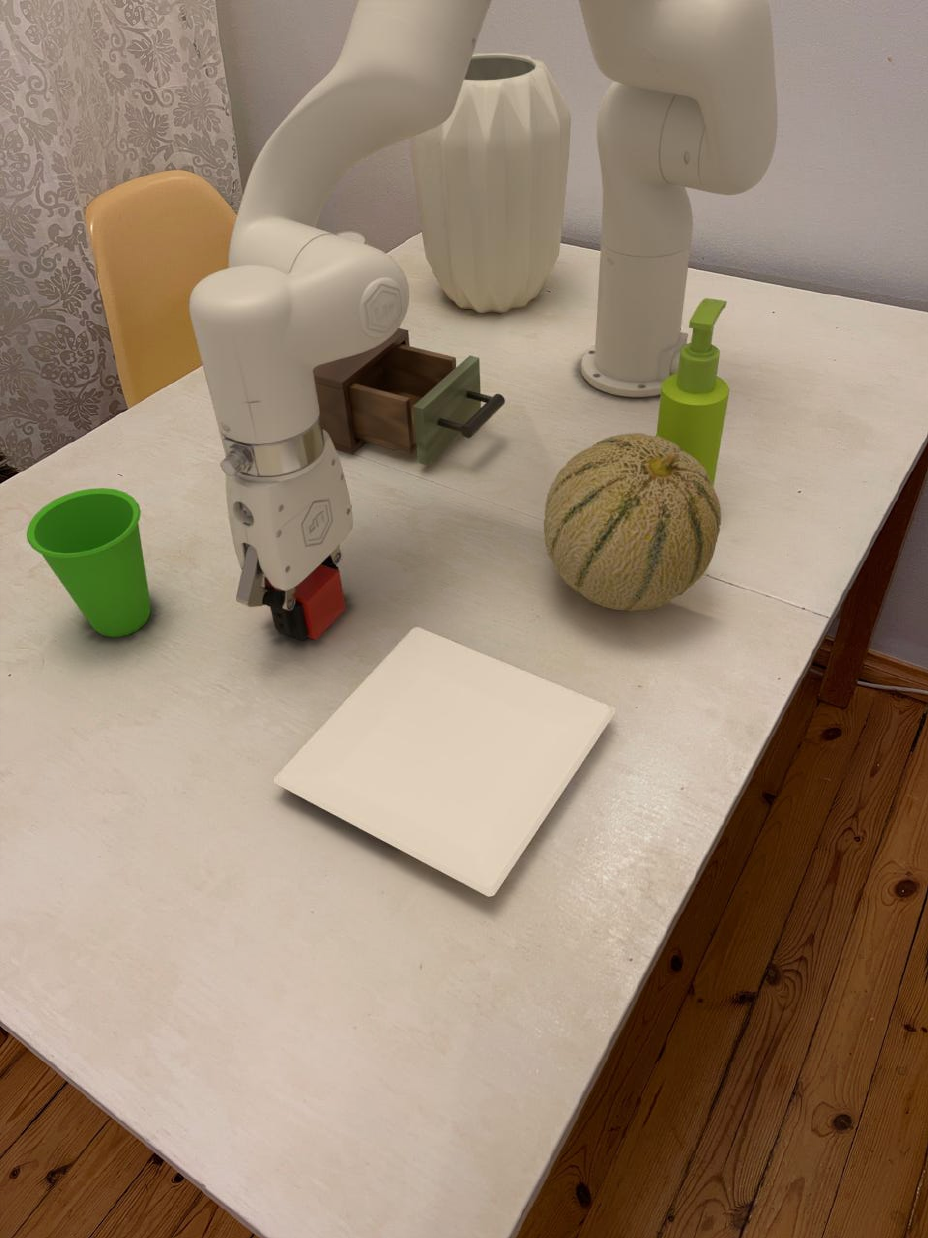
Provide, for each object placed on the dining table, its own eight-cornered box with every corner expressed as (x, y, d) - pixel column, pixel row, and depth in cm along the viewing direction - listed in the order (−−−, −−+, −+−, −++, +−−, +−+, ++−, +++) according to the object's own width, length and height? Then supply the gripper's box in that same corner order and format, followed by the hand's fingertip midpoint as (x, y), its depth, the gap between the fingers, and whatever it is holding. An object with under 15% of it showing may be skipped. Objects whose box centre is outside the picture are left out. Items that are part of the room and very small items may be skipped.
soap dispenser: (719, 490, 96) (751, 298, 82) (700, 530, 92) (731, 334, 78) (661, 478, 98) (683, 288, 84) (641, 516, 94) (661, 323, 80)
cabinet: (414, 399, 111) (408, 329, 105) (352, 454, 104) (342, 382, 98) (319, 373, 117) (308, 306, 111) (253, 424, 109) (237, 354, 103)
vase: (518, 340, 120) (517, 99, 102) (392, 307, 129) (369, 78, 110) (591, 280, 132) (602, 54, 113) (471, 253, 140) (463, 38, 121)
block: (346, 608, 86) (339, 570, 83) (316, 640, 83) (308, 601, 80) (305, 593, 88) (297, 555, 84) (274, 623, 85) (265, 585, 82)
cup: (192, 594, 88) (160, 496, 80) (137, 663, 82) (97, 564, 74) (108, 576, 90) (70, 480, 83) (49, 642, 84) (2, 544, 77)
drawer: (515, 422, 105) (514, 365, 100) (463, 476, 98) (459, 418, 93) (387, 388, 112) (381, 333, 107) (329, 437, 105) (320, 380, 100)
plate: (492, 913, 64) (491, 896, 62) (275, 796, 71) (270, 779, 70) (615, 724, 75) (617, 706, 73) (416, 641, 82) (414, 623, 81)
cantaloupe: (554, 529, 93) (557, 390, 82) (710, 543, 90) (734, 402, 80) (530, 635, 82) (530, 492, 72) (706, 655, 80) (732, 509, 69)
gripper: (240, 513, 66) (285, 692, 79) (377, 396, 76) (397, 571, 89) (158, 484, 69) (215, 662, 81) (301, 376, 79) (331, 548, 92)
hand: (310, 613), depth 85 cm, fingers closed on block, 4 cm apart
